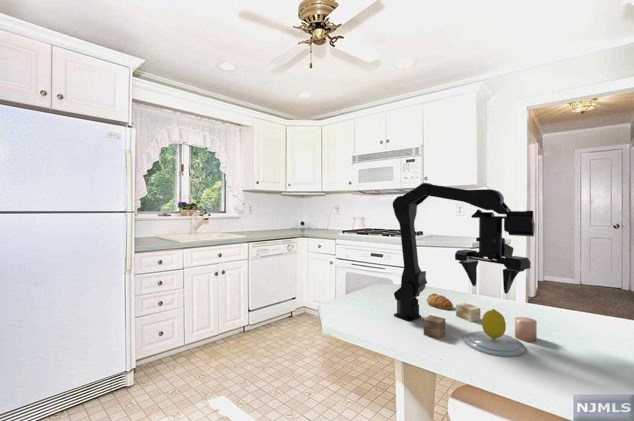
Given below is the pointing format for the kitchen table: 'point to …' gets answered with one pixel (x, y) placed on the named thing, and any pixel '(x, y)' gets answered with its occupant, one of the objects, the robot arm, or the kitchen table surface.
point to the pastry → (439, 301)
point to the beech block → (468, 312)
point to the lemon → (493, 324)
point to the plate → (494, 344)
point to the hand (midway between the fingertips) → (489, 289)
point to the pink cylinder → (526, 329)
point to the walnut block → (434, 326)
